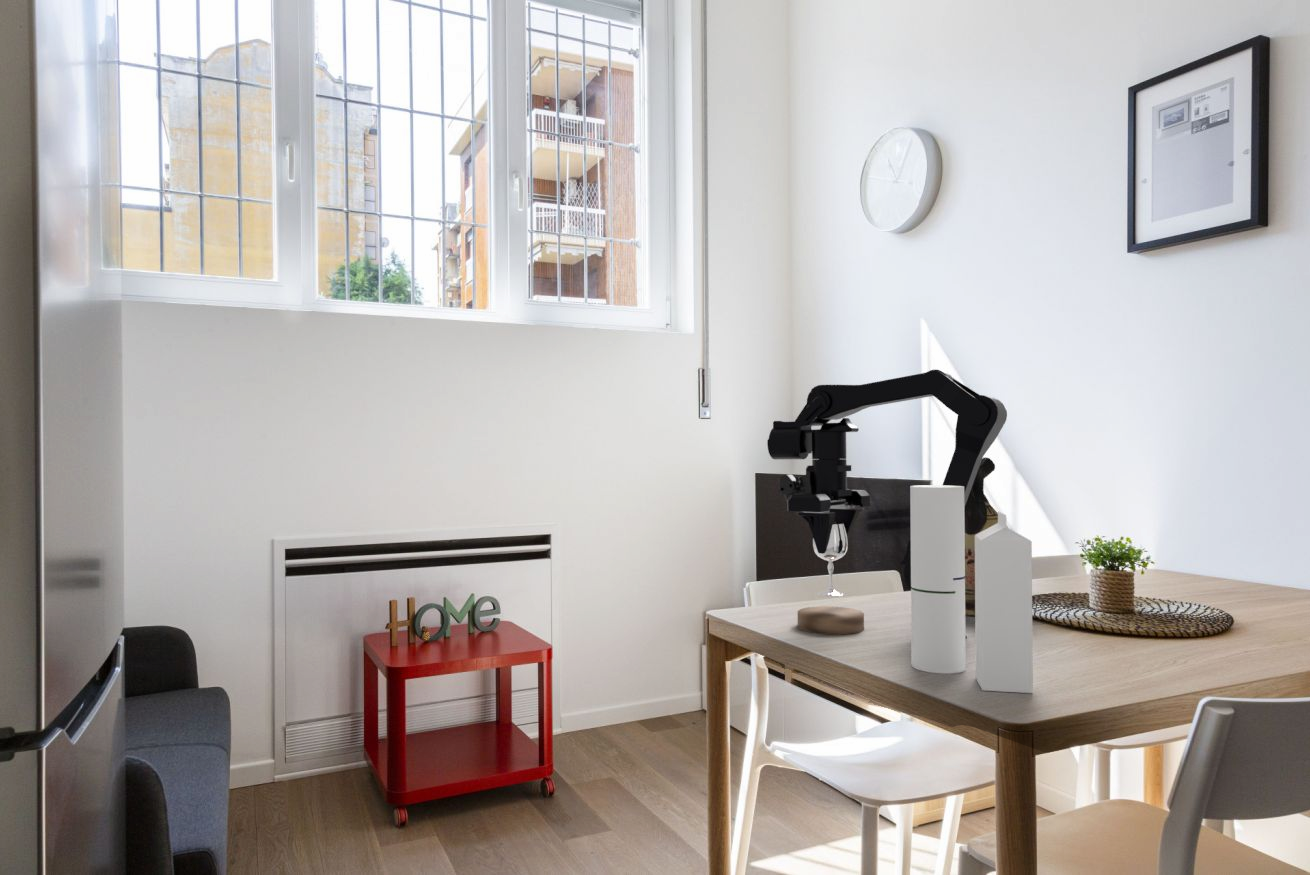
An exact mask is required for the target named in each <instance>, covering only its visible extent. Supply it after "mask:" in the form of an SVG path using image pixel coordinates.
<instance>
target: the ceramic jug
mask: <svg viewBox="0 0 1310 875" xmlns="http://www.w3.org/2000/svg"><path fill="white" fill-rule="evenodd" d="M995 468H996V465H995V463H994V461H993V460H992V459H991V458H989V457H983V458H982V460H981V463H980V466H979V469H978V471H977V474H976V477H975V480H974V483H973V485H972V488H971V491H970V494H969V496H968V499H967V502H966V505H965V507H964V513H965V576H964V577H965V615H967V616H975V535H976V534H978V533H980V532H982V531H984V530H986V529H987V528H989V527H991V526H993V525H995V524H997V523H998V511H997V510H996V509H995V508H994V507H993V506H992V505H991V503H990V502H989V499H988V498H987V496H986V495H985V493H984V485H985V484H984V482H985V479H986V478H987V477H988V476H989V475H991V474H992V472H993V471H995V470H996V469H995Z"/></svg>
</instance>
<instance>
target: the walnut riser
mask: <svg viewBox="0 0 1310 875" xmlns="http://www.w3.org/2000/svg"><path fill="white" fill-rule="evenodd" d="M797 628H798V629H800V630H802V631H803V632H808V633H814V634H819V635H820V634H822V635H850V634H851V633H852V634H857V633H861V632H863V631H864V630H865V612H863V611H862V610H860V609H859V610H858V609H856V608H850V607H844V606H843V607H842V606H824V605H823V606H820V605H819V606H808V607H803V608H800V609H798V610H797Z"/></svg>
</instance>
